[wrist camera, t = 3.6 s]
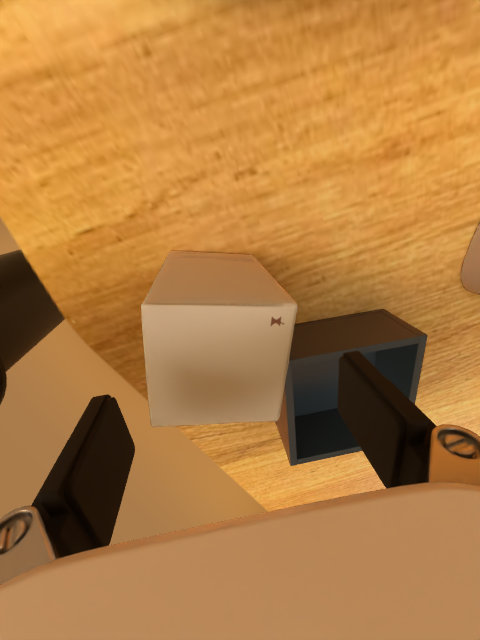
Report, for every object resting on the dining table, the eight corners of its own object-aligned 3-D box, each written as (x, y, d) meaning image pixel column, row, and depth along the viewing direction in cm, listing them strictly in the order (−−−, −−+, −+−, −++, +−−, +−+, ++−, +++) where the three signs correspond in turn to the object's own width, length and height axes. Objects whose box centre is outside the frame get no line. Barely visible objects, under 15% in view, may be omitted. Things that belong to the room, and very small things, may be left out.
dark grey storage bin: (275, 421, 32) (290, 466, 27) (266, 329, 27) (283, 361, 22) (374, 401, 33) (408, 441, 28) (383, 308, 28) (427, 335, 23)
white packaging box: (168, 248, 23) (137, 298, 11) (254, 253, 24) (305, 303, 13) (169, 327, 26) (146, 430, 14) (246, 329, 27) (282, 425, 16)
